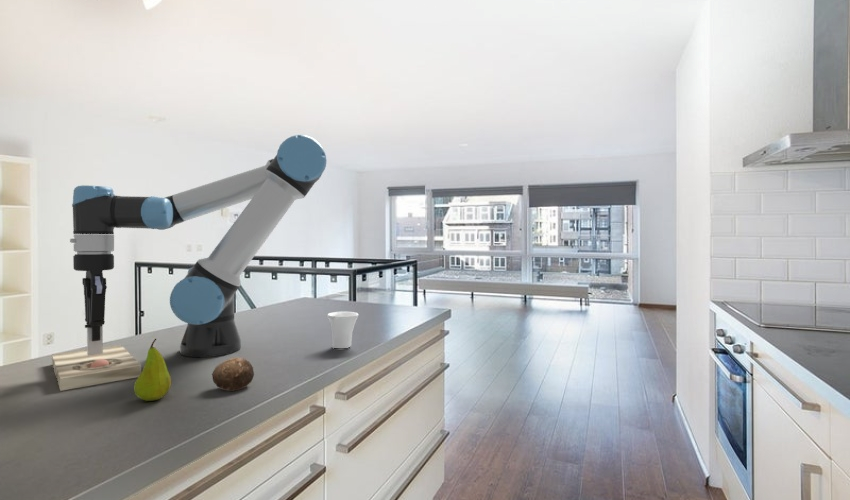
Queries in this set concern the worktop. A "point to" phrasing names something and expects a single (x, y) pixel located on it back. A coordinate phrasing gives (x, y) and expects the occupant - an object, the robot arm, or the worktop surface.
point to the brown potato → (233, 374)
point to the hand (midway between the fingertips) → (95, 353)
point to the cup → (342, 328)
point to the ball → (99, 363)
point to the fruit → (153, 377)
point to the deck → (77, 371)
